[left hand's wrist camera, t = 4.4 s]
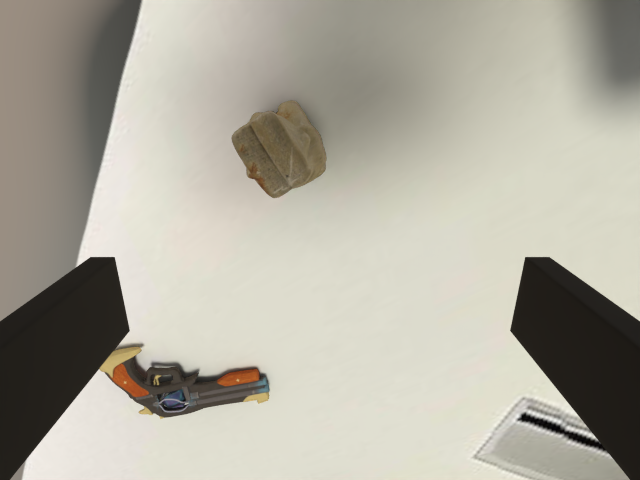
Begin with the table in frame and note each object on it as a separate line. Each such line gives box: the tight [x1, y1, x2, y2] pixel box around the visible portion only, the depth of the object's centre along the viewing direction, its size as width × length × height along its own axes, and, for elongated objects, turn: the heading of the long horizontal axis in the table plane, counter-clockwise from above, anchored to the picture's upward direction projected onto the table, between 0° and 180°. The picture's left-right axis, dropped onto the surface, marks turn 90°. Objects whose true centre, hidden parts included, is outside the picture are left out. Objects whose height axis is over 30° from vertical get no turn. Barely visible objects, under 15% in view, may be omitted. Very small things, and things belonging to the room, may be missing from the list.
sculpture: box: [232, 101, 326, 198], centre depth 31 cm, size 6×7×15 cm
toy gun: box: [99, 347, 269, 419], centre depth 47 cm, size 3×19×10 cm
